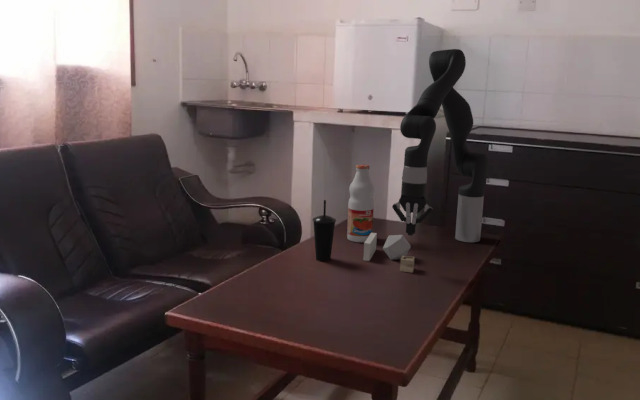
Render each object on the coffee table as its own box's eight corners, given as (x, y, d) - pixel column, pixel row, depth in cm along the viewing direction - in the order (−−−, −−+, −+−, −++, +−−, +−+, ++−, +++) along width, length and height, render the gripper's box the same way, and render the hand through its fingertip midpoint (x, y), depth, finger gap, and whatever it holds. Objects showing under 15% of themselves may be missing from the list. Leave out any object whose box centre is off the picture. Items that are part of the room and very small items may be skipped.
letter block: (401, 267, 197) (402, 255, 197) (413, 268, 196) (414, 256, 196) (399, 271, 193) (400, 259, 193) (412, 272, 193) (413, 260, 192)
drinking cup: (307, 260, 202) (308, 200, 198) (318, 254, 208) (320, 196, 204) (328, 264, 198) (330, 203, 194) (338, 258, 205) (340, 199, 201)
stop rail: (370, 249, 216) (371, 232, 215) (376, 249, 216) (376, 233, 215) (363, 260, 203) (364, 243, 202) (369, 261, 203) (370, 243, 201)
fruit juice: (363, 235, 235) (366, 162, 229) (377, 241, 226) (380, 166, 221) (342, 237, 230) (344, 163, 224) (355, 244, 222) (358, 167, 216)
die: (406, 265, 201) (418, 239, 204) (383, 252, 200) (396, 227, 203) (397, 266, 209) (408, 242, 212) (375, 254, 208) (387, 229, 211)
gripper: (436, 180, 191) (432, 234, 195) (394, 177, 194) (391, 230, 198) (435, 184, 184) (430, 240, 188) (391, 180, 187) (387, 235, 191)
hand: (410, 234), depth 193 cm, fingers closed
